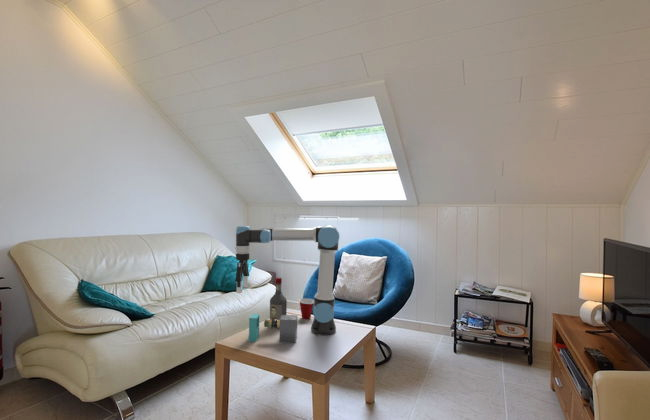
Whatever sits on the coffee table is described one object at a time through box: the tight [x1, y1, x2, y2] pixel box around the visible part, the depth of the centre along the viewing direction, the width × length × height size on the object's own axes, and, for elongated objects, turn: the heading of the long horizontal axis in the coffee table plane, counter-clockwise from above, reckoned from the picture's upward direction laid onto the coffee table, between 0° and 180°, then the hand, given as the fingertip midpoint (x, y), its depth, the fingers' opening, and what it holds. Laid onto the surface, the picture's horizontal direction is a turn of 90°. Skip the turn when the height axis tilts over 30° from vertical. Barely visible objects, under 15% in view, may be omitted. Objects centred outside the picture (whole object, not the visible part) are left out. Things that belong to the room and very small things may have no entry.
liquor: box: [269, 277, 288, 329], centre depth 217 cm, size 9×9×30 cm
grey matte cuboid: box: [278, 314, 298, 344], centre depth 194 cm, size 9×8×13 cm
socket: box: [248, 313, 260, 343], centre depth 194 cm, size 4×8×13 cm, turn 179°
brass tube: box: [263, 319, 280, 329], centre depth 194 cm, size 18×5×5 cm, turn 89°
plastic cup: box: [298, 298, 314, 320], centre depth 234 cm, size 11×11×12 cm
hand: (242, 290), depth 197 cm, fingers open, 13 cm apart
